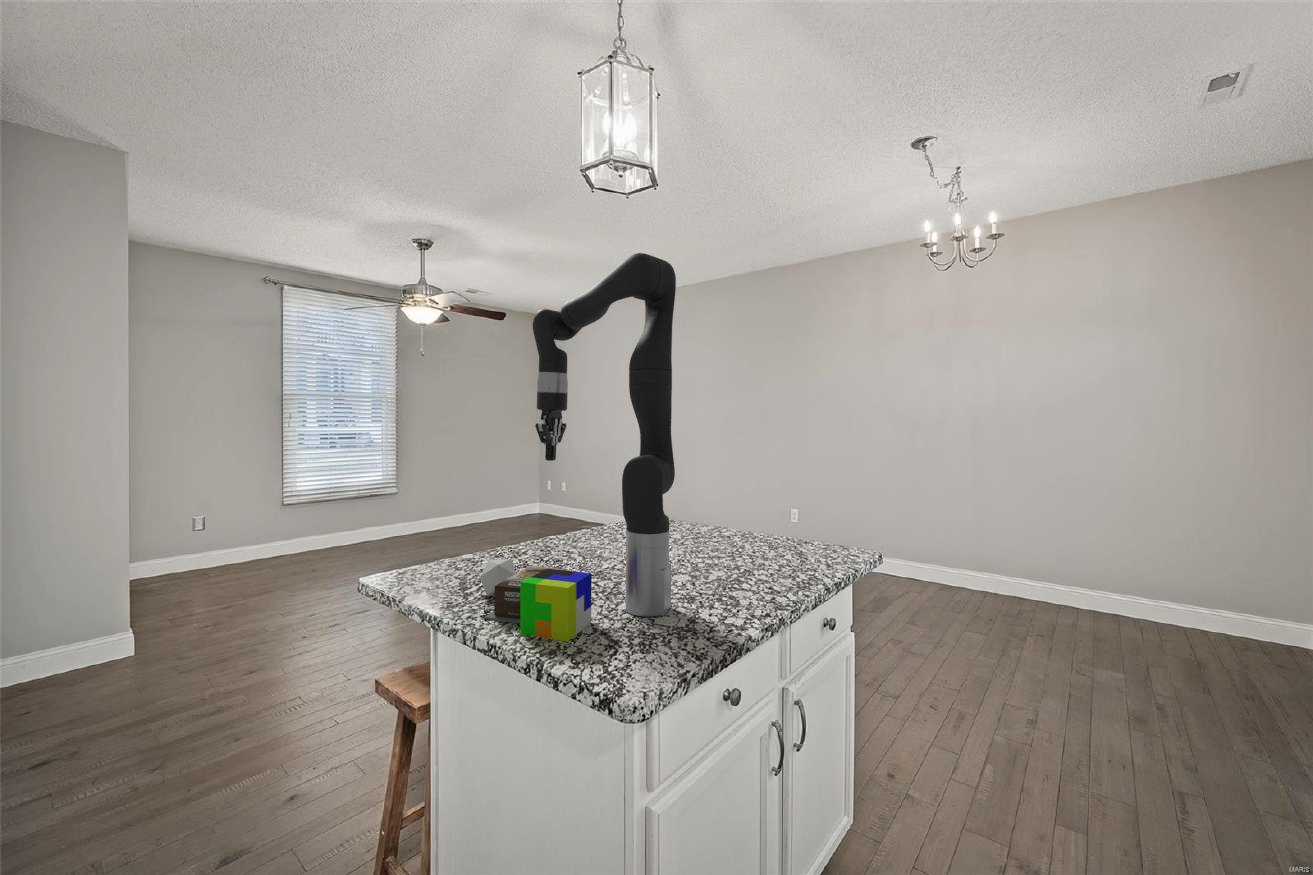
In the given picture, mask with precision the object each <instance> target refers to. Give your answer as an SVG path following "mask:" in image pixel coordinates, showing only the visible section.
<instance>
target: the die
mask: <svg viewBox="0 0 1313 875" xmlns="http://www.w3.org/2000/svg"><path fill="white" fill-rule="evenodd" d="M516 573H517V571H516V568H515V567H514V564H513V561H512V559H510V558H507V559H506V558H505V559H504V558H503V559H488V561H487V563H486V564H485V566H484V568H483V569H482V572H481V574H480V575H479V579H480V583H481V585H482V586H483V589H484V592H485V594H486V596H487V597H494V590H495V586H496V585H497V584H499V583H501V582H503V581H504V580H506V579H508V578H510V577H511V576H513V575H515V574H516Z"/></svg>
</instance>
